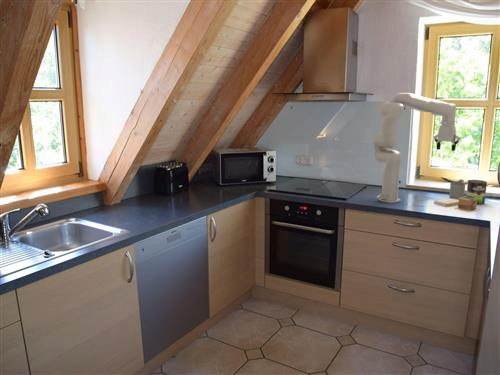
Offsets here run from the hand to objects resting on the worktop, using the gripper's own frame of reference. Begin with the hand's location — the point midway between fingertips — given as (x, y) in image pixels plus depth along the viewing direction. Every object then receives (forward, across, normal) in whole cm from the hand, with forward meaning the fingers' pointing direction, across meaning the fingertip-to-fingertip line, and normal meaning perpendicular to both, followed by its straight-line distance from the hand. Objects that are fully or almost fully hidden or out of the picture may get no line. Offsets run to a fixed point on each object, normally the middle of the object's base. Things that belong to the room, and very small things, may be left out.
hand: (445, 150), depth 277 cm
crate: (+28, +30, -28) cm, 50 cm away
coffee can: (+30, +26, -10) cm, 41 cm away
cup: (+30, +12, -6) cm, 33 cm away
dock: (+29, +17, -26) cm, 43 cm away
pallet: (+29, +30, -28) cm, 50 cm away
